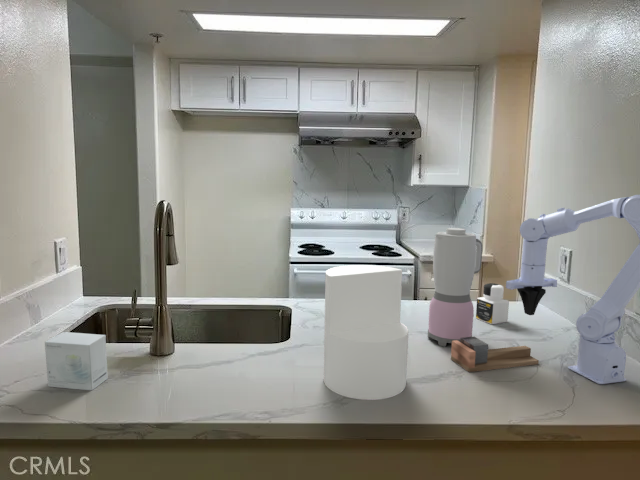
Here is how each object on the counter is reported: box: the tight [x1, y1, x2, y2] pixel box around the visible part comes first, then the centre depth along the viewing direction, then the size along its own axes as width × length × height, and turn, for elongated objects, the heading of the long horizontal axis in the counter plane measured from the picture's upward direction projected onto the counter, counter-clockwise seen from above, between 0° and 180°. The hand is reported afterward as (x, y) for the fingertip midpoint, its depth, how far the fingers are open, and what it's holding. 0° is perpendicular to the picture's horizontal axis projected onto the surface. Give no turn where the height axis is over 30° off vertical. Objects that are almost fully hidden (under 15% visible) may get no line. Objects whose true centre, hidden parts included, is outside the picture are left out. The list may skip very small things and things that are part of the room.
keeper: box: [460, 336, 489, 364], centre depth 116 cm, size 6×4×5 cm
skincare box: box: [44, 331, 109, 391], centre depth 102 cm, size 10×6×10 cm, turn 82°
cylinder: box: [323, 264, 409, 401], centre depth 105 cm, size 19×19×25 cm
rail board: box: [450, 340, 540, 373], centre depth 118 cm, size 8×20×5 cm, turn 106°
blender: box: [427, 227, 483, 347], centre depth 132 cm, size 16×12×32 cm
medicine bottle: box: [475, 282, 510, 325], centre depth 152 cm, size 7×7×12 cm
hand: (529, 314), depth 124 cm, fingers closed
